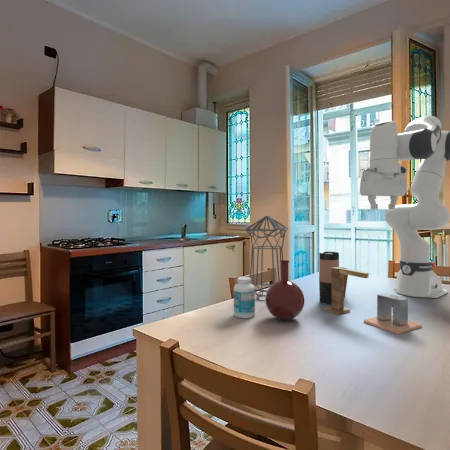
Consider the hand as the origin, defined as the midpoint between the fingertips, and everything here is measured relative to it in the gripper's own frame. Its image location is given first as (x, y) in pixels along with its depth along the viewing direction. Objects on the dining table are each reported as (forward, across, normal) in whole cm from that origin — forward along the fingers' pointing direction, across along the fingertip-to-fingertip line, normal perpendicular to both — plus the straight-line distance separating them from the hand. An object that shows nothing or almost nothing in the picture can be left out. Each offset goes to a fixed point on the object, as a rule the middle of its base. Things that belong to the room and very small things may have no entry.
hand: (383, 209), depth 116 cm
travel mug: (+37, -4, +21) cm, 43 cm away
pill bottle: (+37, -42, +24) cm, 61 cm away
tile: (+37, -6, -8) cm, 38 cm away
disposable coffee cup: (+37, +6, +26) cm, 46 cm away
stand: (+37, -10, +6) cm, 39 cm away
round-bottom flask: (+37, -32, +14) cm, 51 cm away
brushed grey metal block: (+36, -6, -8) cm, 38 cm away
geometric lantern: (+37, -21, +39) cm, 58 cm away
